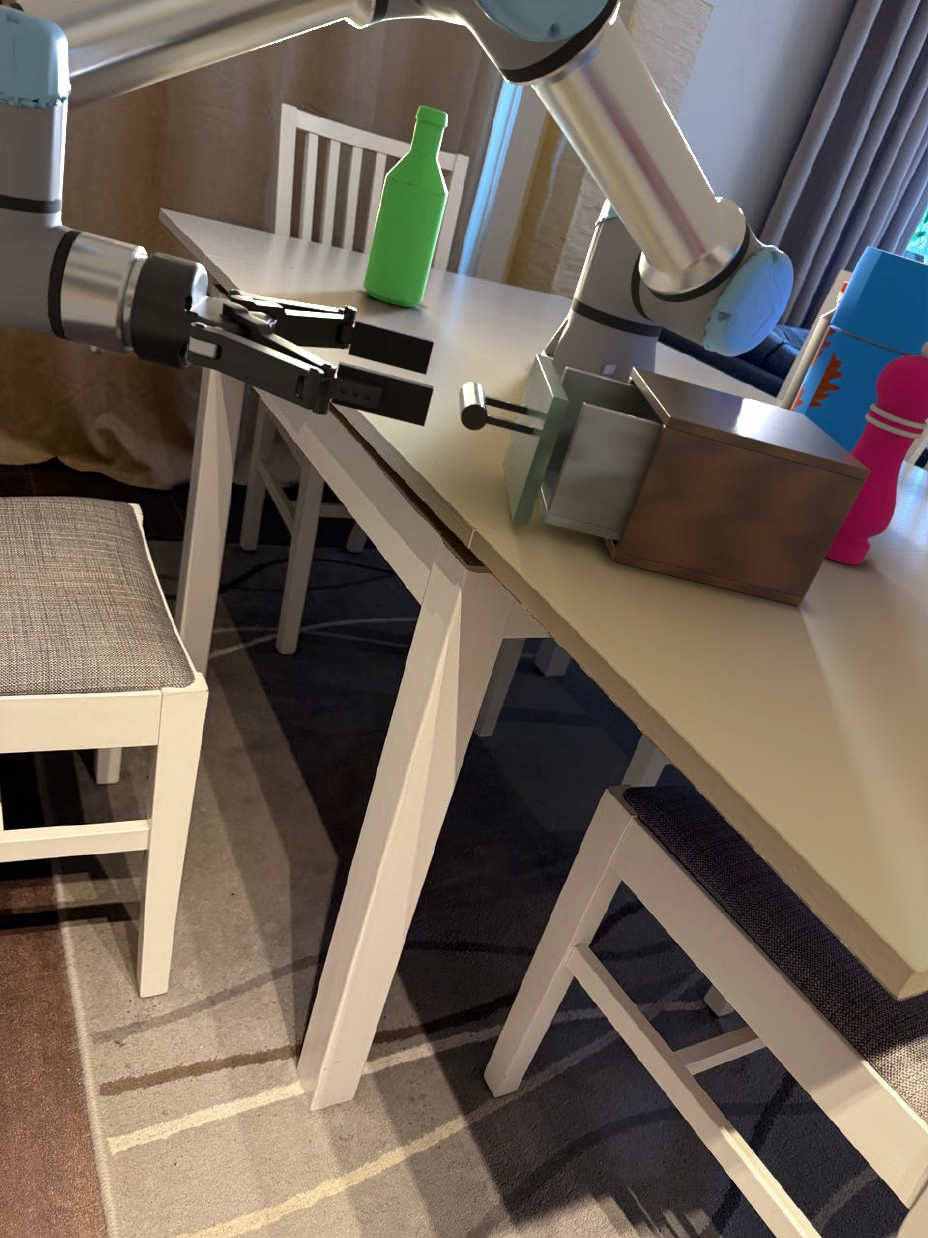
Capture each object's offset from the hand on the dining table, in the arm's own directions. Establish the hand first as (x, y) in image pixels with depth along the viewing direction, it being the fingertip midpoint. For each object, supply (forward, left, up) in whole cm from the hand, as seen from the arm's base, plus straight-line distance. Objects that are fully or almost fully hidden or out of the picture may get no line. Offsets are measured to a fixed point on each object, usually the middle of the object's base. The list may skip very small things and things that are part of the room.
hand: (430, 379), depth 67 cm
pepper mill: (-32, +27, -8) cm, 43 cm away
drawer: (-8, +10, -7) cm, 14 cm away
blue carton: (-48, +20, -8) cm, 53 cm away
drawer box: (-15, +19, -8) cm, 25 cm away
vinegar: (-80, +9, -8) cm, 81 cm away
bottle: (-52, -46, -8) cm, 70 cm away
